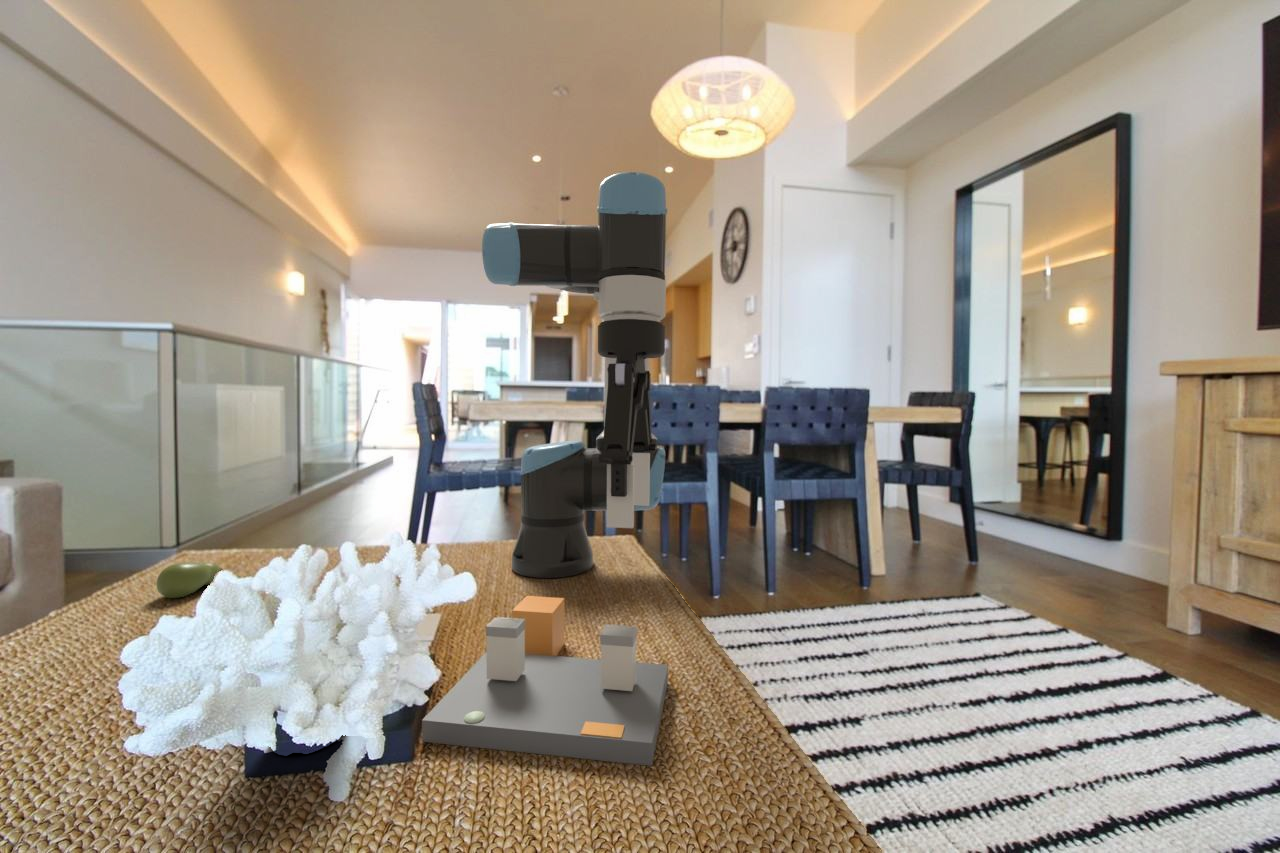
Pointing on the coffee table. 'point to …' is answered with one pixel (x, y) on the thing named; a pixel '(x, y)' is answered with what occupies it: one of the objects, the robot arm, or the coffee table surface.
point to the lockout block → (542, 624)
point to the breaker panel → (553, 711)
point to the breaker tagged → (618, 657)
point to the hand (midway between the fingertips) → (630, 515)
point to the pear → (185, 578)
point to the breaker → (505, 648)
